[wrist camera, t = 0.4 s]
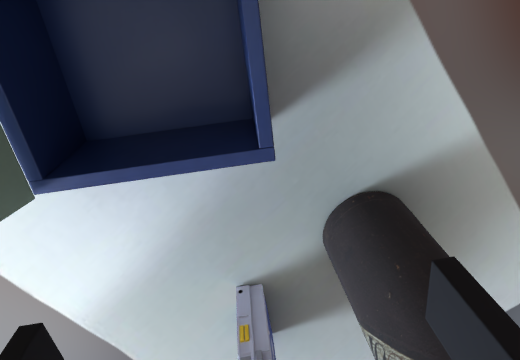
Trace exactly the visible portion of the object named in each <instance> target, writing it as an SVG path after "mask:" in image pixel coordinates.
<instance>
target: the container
mask: <svg viewBox="0 0 520 360" xmlns="http://www.w3.org/2000/svg"><path fill="white" fill-rule="evenodd" d="M323 242H324V246H325V248H326V251H327V253H328V256H329V258H330V260H331V263H332V265H333V267H334V269H335V271H336V274H337V275H338V278H339V280H340V282H341V284H342V287H343V289H344V291H345V293H346V295H347V298H348V300H349V302H350V304H351V306H352V309H353V311H354V313H355V315H356V318H357V320H358V322H359V325H360V327H361V329H362V332H363V334H364V336H365V338H366V340H367V342H368V345H369V347H370V349H371V351H372V353H373V356H374V358H375V360H452V359H451V358H450V356H449V355H448V353H447V352H446V350H445V348H444V347H443V345H442V344H441V342H440V341H439V339H438V337H437V336H436V334H435V333H434V331H433V330H432V328H431V327H430V325H429V323H428V322H427V320H426V319H425V316H426V307H427V298H428V289H429V280H430V272H431V263H432V260H436V259H442V258H448V257H449V256H448V254H447V253H446V252H445V251H444V250H443V249H442V247H441V246H440V245H439V244H438V243H437V242H436V241H435V239H434V238H433V237H432V236H431V235H430V234H429V232H428V231H427V230H426V229H425V228H424V227H423V225H422V224H421V223H420V222H419V220H418V219H417V218H416V217H415V216H414V215H413V213H412V212H411V211H410V210H409V209H408V208H407V207H406V206H405V205H404V204H403V203H402V202H401V200H399V199H398V198H397V197H395V196H393V195H391V194H388V193H384V192H367V193H362V194H358V195H356V196H353V197H351V198H349V199H348V200H346V201H345V202H343V203H342V204H341V205H339V206H338V207H337V208H336V209H335V210H334V211H333V212H332V214H331V215H330V216H329V218H328V220H327V222H326V224H325V227H324V230H323Z"/></svg>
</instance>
